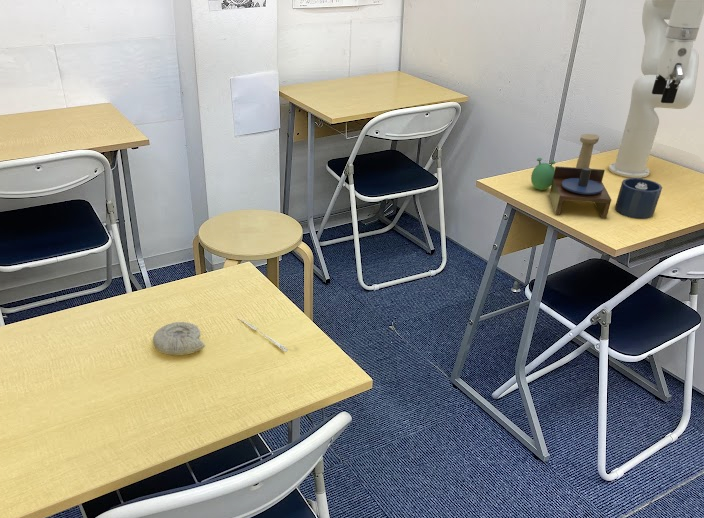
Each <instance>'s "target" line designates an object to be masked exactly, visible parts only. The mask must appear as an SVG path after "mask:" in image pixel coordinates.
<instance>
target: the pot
mask: <svg viewBox="0 0 704 518" xmlns="http://www.w3.org/2000/svg"><path fill="white" fill-rule="evenodd" d="M638 183H641V184H642V183H644V185H645V184H647V189H646V190H638V189H636V187H635V186H636V185H637V184H638ZM662 191H663V186H662V185H661V184H659V182H656V181H653V180H650V179H646V178H630V177H627V178H626V179H623V180H622V182H621V184H620V187H619V190H618V195H617V198H616V202H615V205H614V211H615V212H616V213H617V214H619V215H620V216H622V217H626V218H630V219H635V220H648V219H651V218H653V216H654V214H655V211H656V208H657V206H658V203H659V200H660V196H661V193H662Z"/></svg>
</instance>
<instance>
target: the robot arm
mask: <svg viewBox="0 0 704 518" xmlns="http://www.w3.org/2000/svg"><path fill="white" fill-rule="evenodd" d="M703 17H704V0H644V3H643V7H642V13H641V18H642V19H641V22H642V23H641V24H642V29H643V34H644V46H643V53H642V56H641V57H642V58H641V65H640V68H641V69H640V70H641V73H642V74H643V75H641V76H639V77H637V79H635V80H634V83H633V85H632V89H631V97H630V104H629V109H628V114H627V118H626V122H625V126H624V129H623V132H622V137H621V140H620V144H619V146H618V151H617V155H616V159H615V162H613V163H610V164H609V166H608V170H609V172H611V173H612V174H614V175H617V176H620V177H625V178H641V179H643V178H646V177H648V176H649V175H650V174H651V173H650V172H651V171H650V169H649V168H648V167H647V166H648V165H647V164H648V162H649V158H650V155H651V151H652V149H653V144H654V141H655V138H656V135H657V131H658V128H659V125H660V117H659V115H658V114H657V112H656V110H655V109H656V108H659V109H660V108H661V109H672V110H673V109H674V110H683V109H686V108H688V107H690V105H691V104H692V102H693V100H694V97H695V93H696V89H697V88H696V87H697V79H698V72H699V65H700V55H699V52H698V50H696V49H695V48H693V45H694V42H695V41H696V40H697V36H698V34H699V30H700V27H701V23H702V21H703ZM665 20H668V23H667V22H666V21H665Z"/></svg>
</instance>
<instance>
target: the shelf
mask: <svg viewBox="0 0 704 518" xmlns="http://www.w3.org/2000/svg"><path fill="white" fill-rule="evenodd" d="M554 167H555V171H554V176H553V180H552V185H551V186H550V188H549V189H550V190H549V195H548V196H549V199H550V203H551V205H552V209H553V211H554V214H555V216H560V215H561V211H562V207H563V203H564V201H572V202H583V203H584V202H585V203H594V205H595V206H596V209H597V211H598V213H599V215H600V218H601V219H603V220H604V219H605V220H606V219H607V217H608V214H609V210H610V207H611V202H612V198H611V195H610V194H609V193H608V190H607V188H606V187H605V185H604V183H603V179H604V176H605V171H606V170H605V169H604V168H603V169H602V168H591V173H590V177H589V180H592V181H595V182H598V183H600V184H601V185H602V186H603V191H602V192H601V193H598V194H579V193H575V192H571V191H569V190H566V189H565V188H563V187H562V181H563V180H565V179H569V178H580V173H581V169H582V168H576V167H574V166H573V167H572V166H559V165H556V166H554Z"/></svg>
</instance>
